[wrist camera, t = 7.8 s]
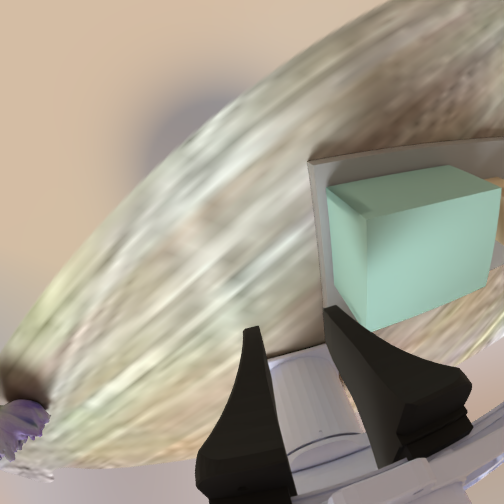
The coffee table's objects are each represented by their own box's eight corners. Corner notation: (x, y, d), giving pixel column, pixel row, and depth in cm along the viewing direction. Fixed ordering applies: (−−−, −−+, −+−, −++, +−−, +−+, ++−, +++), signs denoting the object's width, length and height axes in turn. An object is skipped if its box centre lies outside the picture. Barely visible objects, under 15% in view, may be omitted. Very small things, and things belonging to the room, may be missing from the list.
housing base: (502, 256, 27) (524, 273, 23) (324, 320, 26) (340, 351, 22) (514, 136, 20) (544, 145, 17) (307, 161, 19) (329, 175, 16)
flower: (-52, 419, 18) (5, 487, 17) (-40, 368, 19) (22, 444, 19) (-7, 404, 27) (45, 459, 26) (11, 359, 28) (68, 417, 28)
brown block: (494, 215, 22) (529, 236, 18) (468, 222, 22) (505, 246, 18) (497, 176, 21) (535, 194, 17) (472, 181, 21) (512, 201, 16)
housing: (443, 251, 23) (485, 286, 18) (334, 284, 22) (365, 333, 17) (448, 164, 19) (501, 187, 15) (325, 187, 19) (366, 219, 14)
